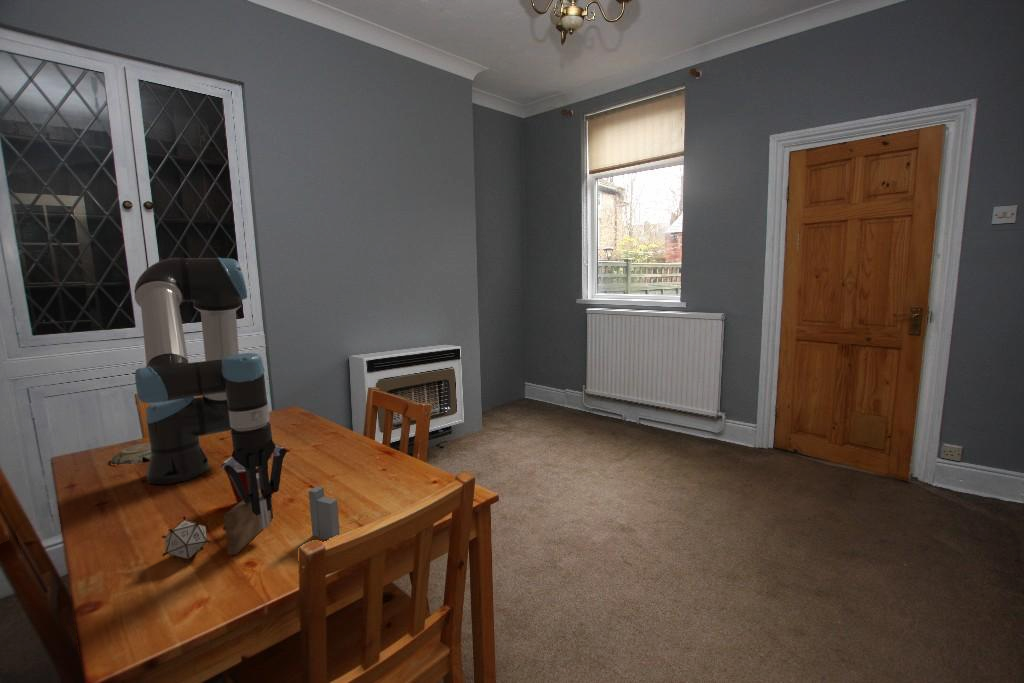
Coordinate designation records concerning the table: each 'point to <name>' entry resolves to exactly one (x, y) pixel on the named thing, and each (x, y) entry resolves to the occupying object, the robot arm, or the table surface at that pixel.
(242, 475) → the plastic cup
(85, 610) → the table surface
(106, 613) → the table surface
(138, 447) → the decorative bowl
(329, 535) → the grey upright posts
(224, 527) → the door
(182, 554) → the game die
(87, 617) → the table surface
